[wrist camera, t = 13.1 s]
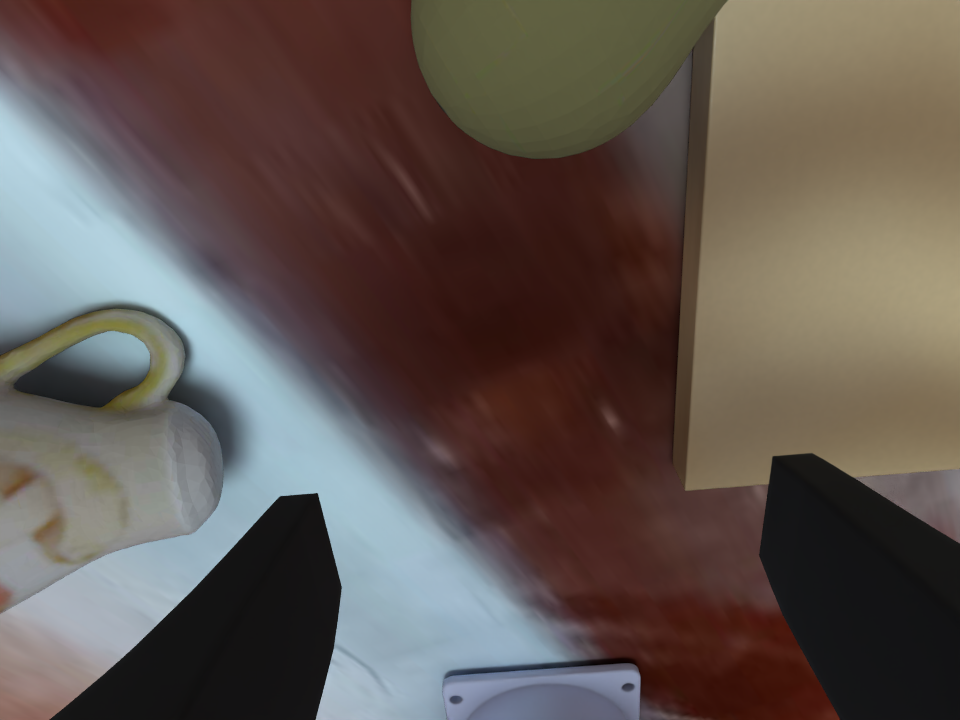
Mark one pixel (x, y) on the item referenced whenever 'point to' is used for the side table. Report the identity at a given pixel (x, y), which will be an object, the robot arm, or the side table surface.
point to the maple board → (821, 241)
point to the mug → (98, 461)
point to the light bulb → (552, 66)
